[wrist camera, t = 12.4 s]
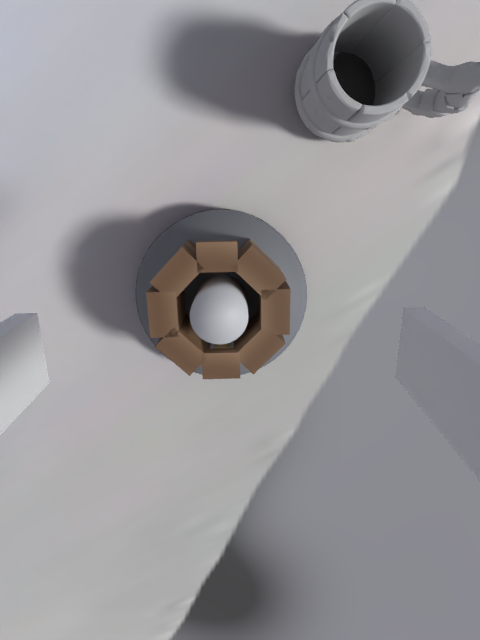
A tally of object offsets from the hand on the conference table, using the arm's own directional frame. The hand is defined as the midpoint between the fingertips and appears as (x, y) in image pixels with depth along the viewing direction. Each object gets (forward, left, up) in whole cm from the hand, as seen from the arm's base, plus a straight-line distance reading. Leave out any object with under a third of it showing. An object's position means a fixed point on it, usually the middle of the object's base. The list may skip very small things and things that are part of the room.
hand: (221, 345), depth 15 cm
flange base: (+4, -1, -24) cm, 24 cm away
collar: (+3, -1, -21) cm, 21 cm away
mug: (-12, +11, -24) cm, 29 cm away
